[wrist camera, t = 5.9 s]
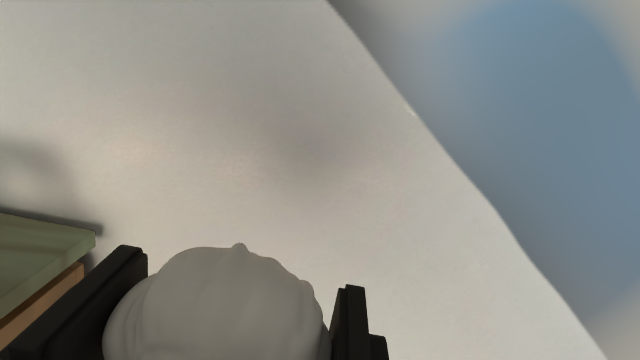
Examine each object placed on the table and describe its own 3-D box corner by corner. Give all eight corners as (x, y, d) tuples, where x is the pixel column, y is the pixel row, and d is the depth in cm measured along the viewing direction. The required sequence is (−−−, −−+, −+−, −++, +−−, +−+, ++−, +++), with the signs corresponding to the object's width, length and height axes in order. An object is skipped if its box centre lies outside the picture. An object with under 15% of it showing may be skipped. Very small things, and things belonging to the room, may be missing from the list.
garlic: (373, 281, 11) (398, 461, 6) (284, 383, 13) (249, 586, 8) (204, 178, 10) (83, 296, 6) (132, 303, 12) (-9, 476, 7)
